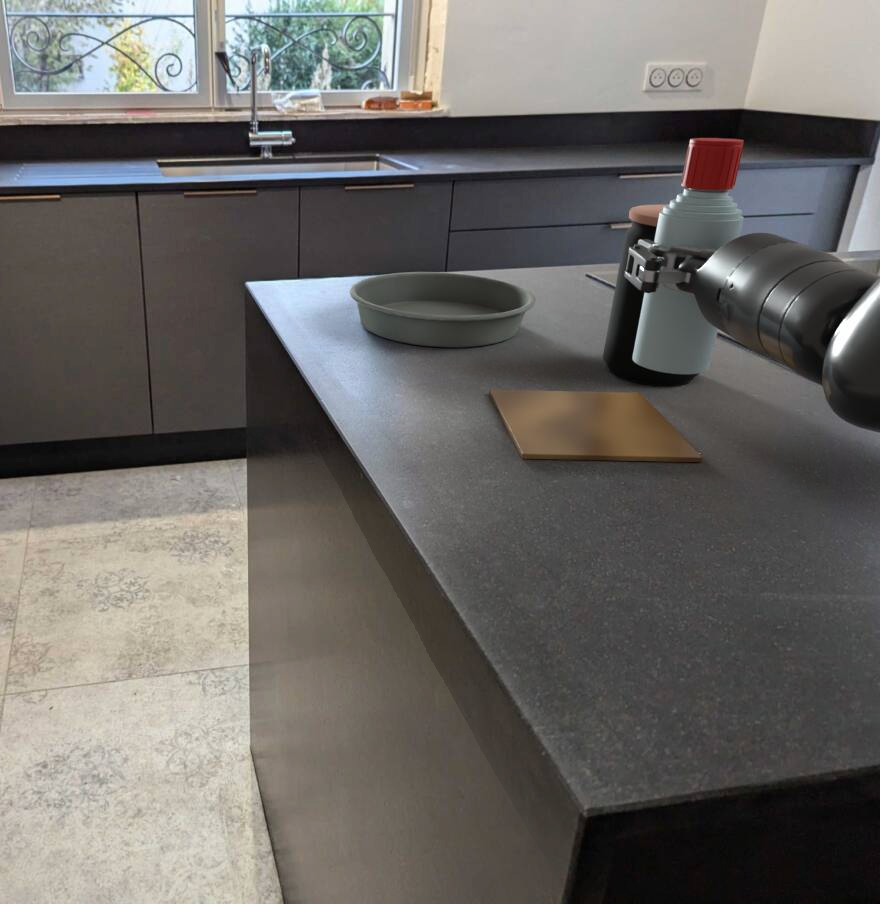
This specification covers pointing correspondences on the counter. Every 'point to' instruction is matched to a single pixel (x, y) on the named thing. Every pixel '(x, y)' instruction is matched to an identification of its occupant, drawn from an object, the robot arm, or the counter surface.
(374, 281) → the cake pan
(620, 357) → the coffee jar
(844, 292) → the robot arm
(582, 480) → the counter surface
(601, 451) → the mat
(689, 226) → the bottle
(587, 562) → the counter surface
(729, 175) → the cap
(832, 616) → the counter surface
